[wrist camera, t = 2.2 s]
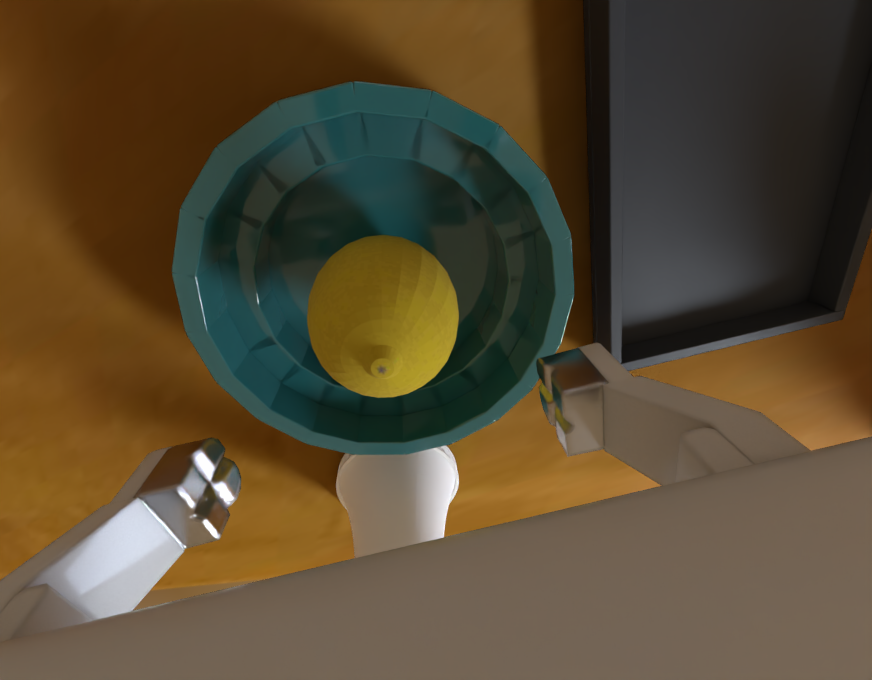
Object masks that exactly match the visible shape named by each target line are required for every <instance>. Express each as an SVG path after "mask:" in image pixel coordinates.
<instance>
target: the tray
mask: <svg viewBox="0 0 872 680" xmlns="http://www.w3.org/2000/svg"><path fill="white" fill-rule="evenodd" d="M583 6H584V39H585V73H586V106H587V139H588V172H589V206H590V239H591V272H592V305H593V338H594V343H600V344H601V345H602V346H603V347H604V348H605V349H606V350H607V351H608V352H609V353H610V354H611V355H612V356H613V357H614V358H615V359H616V360H617V361H618V362H619V363H620V364H621V365H622V366H623V367H624V368H625V369H626V370H627V371H630V370H635V369H639V368H643V367H647V366H651V365H655V364H659V363H664V362H668V361H672V360H676V359H680V358H684V357H689V356H693V355H697V354H701V353H705V352H709V351H714V350H718V349H722V348H726V347H730V346H734V345H738V344H743V343H747V342H751V341H755V340H759V339H763V338H768V337H772V336H776V335H780V334H784V333H788V332H793V331H797V330H801V329H805V328H809V327H813V326H817V325H822V324H826V323H830V322H834V321H838V320H842V319H843V317H844V314H845V311H846V310H845V309H846V307H847V304H848V301H849V298H850V295H851V292H852V288H853V285H854V282H855V279H856V276H857V273H858V270H859V267H860V264H861V260H862V257H863V254H864V251H865V248H866V245H867V242H868V239H869V236H870V232H871V229H872V0H583Z"/></svg>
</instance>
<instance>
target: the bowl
mask: <svg viewBox="0 0 872 680" xmlns="http://www.w3.org/2000/svg"><path fill="white" fill-rule="evenodd" d="M377 235H389V236H397V237H402V238H405V239H407V240H410V241H412V242H415V243H417V244H419V245H420V246H422V247H423V248H424V249H426V250H427V251H428V252H430V253H431V254H432V255H434V256H435V258H436V259H437V260H438V261H439V263H440V264H441V265H442V266H443V268H444V269H445V270H446V271H447V273H448V276H449V278H450V280H451V282H452V285H453V287H454V289H455V292H456V297H457V304H458V311H459V320H458V328H457V335H456V341H455V344H454V346H453V349H452V351H451V353H450V356H449V358H448V360H447V362H446V363H445V365H444V366H443V367H442V369H441V370H440V371H439V372H438V374H437V375H436V376H435V377H434V378H432V379H431V380H430V381H429V382H427V383H426V384H425V385H424V386H422V387H420V388H418V389H416V390H414V391H412V392H410V393H408V394H404V395H400V396H396V397H381V398H377V397H371V396H366V395H361V394H359V393H356V392H354V391H351V390H349V389H347V388H346V387H344V386H343V385H341V384H340V383H338V382H337V381H336V380H334V379H333V378H332V377H331V376H330V375H329V374H328V372H327V371H326V370H325V369H324V368H323V367H322V365H321V364H320V362H319V360H318V358H317V356H316V354H315V352H314V350H313V348H312V345H311V340H310V335H309V330H308V325H307V314H308V301H309V295H310V292H311V289H312V287H313V284H314V282H315V279H316V277H317V274H318V273H319V271H320V270H321V269H322V267H323V266H324V265H325V263H326V262H327V261H328V260H329V258H330V257H331V256H332V255H333V254H335V253H336V252H337V251H339V250H340V249H341V248H343V247H344V246H345V245H347V244H348V243H351V242H353V241H356V240H359V239H361V238H364V237H368V236H377ZM172 277H173V281H174V286H175V290H176V294H177V299H178V303H179V307H180V312H181V316H182V320H183V325H184V329H185V332H186V334H187V336H188V338H189V339H190V341H191V342H192V344H193V346H194V347H195V349H196V351H197V352H198V354H199V355H200V357H201V359H202V360H203V362H204V364H205V365H206V367H207V368H208V370H209V372H210V373H211V375H212V377H213V378H214V380H215V381H217V384H219V385H220V386H221V387H222V388H223V389H224V390H225V391H226V392H227V393H229V394H230V395H231V396H232V397H233V398H234V399H235V400H236V401H238V402H239V403H240V404H241V405H242V406H243V407H244V408H245V409H246V410H248V411H249V412H250V413H251V414H252V415H253V416H254V417H255V418H257V419H258V420H260V421H262V422H264V423H266V424H268V425H270V426H272V427H274V428H276V429H278V430H279V431H281V432H283V433H285V434H287V435H289V436H291V437H293V438H295V439H297V440H299V441H301V442H303V443H306V444H309V445H313V446H317V447H322V448H326V449H330V450H334V451H339V452H343V453H347V454H351V455H355V454H356V455H404V454H405V455H408V454H412V453H416V452H421V451H425V450H429V449H433V448H437V447H441V446H446V445H450V444H452V443H455V442H457V441H459V440H461V439H462V438H464V437H466V436H468V435H470V434H472V433H474V432H476V431H478V430H480V429H482V428H484V427H486V426H488V425H490V424H492V423H494V422H495V421H497V420H499V419H500V418H501V417H502V416H503V415H504V414H505V413H506V412H508V411H509V410H510V409H511V408H512V407H513V406H514V405H515V404H517V403H518V402H519V401H520V400H521V399H522V398H523V397H524V396H525V395H527V394H528V393H529V392H530V391H531V390H532V389H533V387H534V386H535V384H536V383H537V381H538V380H539V378H540V377H539V375H538V374H537V367H536V360H537V359H538V358H542V357H546V356H549V355H553V354H555V353H556V351H557V350H558V348H559V345H561V342H562V339H563V335H564V331H565V328H566V324H567V320H568V317H569V313H570V309H571V306H572V302H573V299H574V275H573V256H572V238H571V233H570V230H569V228H568V225H567V223H566V221H565V218H564V216H563V213H562V211H561V208H560V206H559V204H558V201H557V199H556V196H555V194H554V191H553V189H552V187H551V184H550V182H549V179H548V178H547V176H546V175H545V173H544V172H543V171H542V170H541V169H540V168H539V167H538V166H537V165H536V164H535V163H534V161H533V160H532V159H531V158H530V157H529V156H528V155H527V154H526V153H525V152H524V150H523V149H522V148H521V147H520V146H519V145H518V144H517V143H516V142H515V141H514V140H513V138H512V137H511V136H510V135H509V134H508V133H507V132H506V131H505V130H504V129H503V127H502V126H499V124H498V123H496V122H494V121H492V120H490V119H488V118H486V117H484V116H482V115H480V114H478V113H476V112H474V111H473V110H471V109H469V108H467V107H465V106H463V105H461V104H459V103H457V102H455V101H453V100H451V99H449V98H447V97H445V96H444V95H442V94H440V93H438V92H436V91H433V90H432V91H431V90H430V89H423V88H414V87H406V86H397V85H389V84H380V83H372V82H363V81H353V82H352V81H348V82H345V83H341V84H337V85H333V86H329V87H325V88H322V89H318V90H314V91H310V92H306V93H303V94H299V95H295V96H291V97H287V98H283V99H280V100H278V101H277V102H273V103H272V104H271V105H269V106H268V107H267V108H265V109H264V110H263V111H261V112H260V113H259V114H257V115H256V116H255V117H253V118H252V119H251V120H249V121H248V122H247V123H245V124H244V125H243V126H241V127H240V128H239V129H237V130H236V131H235V132H234V133H232V134H231V135H230V136H228V137H227V138H226V139H224V140H223V141H222V142H220V143H219V144H218V145H217V147H215V148H214V149H213V151H212V153H211V155H210V156H209V158H208V160H207V162H206V163H205V165H204V167H203V168H202V170H201V172H200V174H199V175H198V177H197V179H196V180H195V182H194V184H193V186H192V187H191V189H190V191H189V193H188V194H187V196H186V198H185V199H184V201H183V203H182V205H181V208H180V212H179V219H178V226H177V234H176V241H175V249H174V256H173V263H172Z"/></svg>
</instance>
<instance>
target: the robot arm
mask: <svg viewBox="0 0 872 680" xmlns="http://www.w3.org/2000/svg"><path fill="white" fill-rule="evenodd" d="M536 367H537V374H538V375H539V377H540V379H541V381H542V383H541V385H540V387H539V391H540V398H541V402H542V406H543V410H544V412H545V414H546V417H547V419H548V421H549V423H550V424H551V425H553V426H555V427H556V433H557V438H558V439H559V441H560V443H561V445H562V447H563V449H564V450H565V452H566V454H567V456H573V455H578V454H582V453H587V452H592V451H597V450H601V449H605V451H606V452H608V453H610V454H611V455H613V456H614V457H616V458H618V459H619V460H621V461H623V462H624V463H626V464H627V465H629V466H631V467H632V468H634V469H636V470H637V471H639V472H641V473H642V474H644V475H645V476H647V477H649V478H650V479H652V480H654V481H655V482H657V483H658V484H660V485H662V486H660V487H655V488H651V489H647V490H643V491H638V492H634V493H630V494H626V495H621V496H617V497H613V498H609V499H604V500H600V501H596V502H592V503H588V504H583V505H579V506H575V507H571V508H567V509H562V510H558V511H554V512H550V513H546V514H542V515H537V516H533V517H529V518H525V519H520V520H516V521H512V522H508V523H503V524H499V525H495V526H490V527H486V528H482V529H478V530H473V531H469V532H465V533H460V534H456V535H452V536H448V537H443V538H439V539H435V540H430V541H426V542H422V543H418V544H413V545H409V546H405V547H400V548H396V549H392V550H388V551H383V552H379V553H375V554H371V555H366V556H362V557H358V558H354V559H350V560H345V561H341V562H337V563H333V564H328V565H324V566H320V567H316V568H311V569H307V570H303V571H299V572H295V573H290V574H286V575H282V576H278V577H273V578H269V579H265V580H261V581H257V582H252V583H248V584H244V585H240V586H235V587H231V588H227V589H223V590H218V591H214V592H210V593H206V594H201V595H198V596H193V597H189V598H185V599H180V600H176V601H172V602H167V603H163V604H159V605H155V606H151V607H146V608H142V609H138V610H133V609H134V608H135V607H136V606H137V605H138V603H139V602H140V601H141V600H142V599H143V597H145V595H146V594H147V593H148V592H149V591H150V590H151V589H152V587H153V586H154V585H155V584H156V583H157V582H158V581H159V579H160V578H161V577H162V576H163V575H164V574H165V573H166V571H167V570H168V569H169V568H170V567H171V566H172V565H173V563H174V562H175V561H176V560H177V559H178V558H179V557H180V555H181V554H182V553H183V552H184V549H186V548H190V547H194V546H197V545H201V544H205V543H208V542H212V541H216V540H219V539H220V537H221V535H222V532H223V530H224V528H225V525H226V523H227V521H228V518H229V516H230V514H229V511H228V509H227V508H228V507H229V506H230V505H231V504H232V503H233V502H234V501H235V500H236V499H237V497H238V495H239V492H240V489H241V476H240V473H239V469H238V467H237V466H236V464H235V463H234V462H233V461H231V460H229V459H227V458H225V457H224V453H225V448H224V446H223V445H222V444H221V442H220V441H219V439H215V438H208V439H203V440H199V441H194V442H190V443H185V444H181V445H176V446H173V447H167V448H163V449H159V450H155V451H153V452H151V453H149V454H148V455H147V456H146V457H145V458H144V460H143V461H142V462H141V464H140V465H139V466H138V468H137V469H136V470H135V471H134V473H133V474H132V475H131V477H130V478H129V479H128V480H127V482H126V483H125V484H124V486H123V487H122V488H121V490H120V491H119V492H118V493H117V495H116V496H115V497H114V499H113V500H112V501H111V502H110V504H108V505H104V506H102V507H100V508H99V509H98V510H96V511H95V512H94V513H92V514H91V515H89V516H88V517H87V518H85V519H84V520H83V521H81V522H80V523H78V524H77V525H76V526H74V527H73V528H72V529H70V530H69V531H67V532H66V533H65V534H63V535H62V536H61V537H59V538H58V539H56V540H55V541H54V542H52V543H51V544H50V545H48V546H47V547H45V548H44V549H43V550H41V551H40V552H39V553H37V554H36V555H35V556H33V557H32V558H30V559H29V560H28V561H26V562H25V563H24V564H22V565H21V566H19V567H18V568H17V569H15V570H14V571H13V572H11V573H10V574H8V575H7V576H6V577H4V578H3V579H2V580H0V680H872V437H868V438H863V439H859V440H855V441H851V442H846V443H842V444H838V445H834V446H829V447H825V448H821V449H817V450H812V451H810V450H809V449H808V448H806V447H805V446H804V445H802V444H801V443H800V442H799V441H797V440H796V439H795V438H793V437H792V436H791V435H789V434H788V433H787V432H786V431H784V430H783V429H782V428H780V427H779V426H778V425H776V424H775V423H774V422H772V421H771V420H770V419H769V418H767V417H766V416H765V415H763V414H762V413H761V412H758V411H755V410H752V409H748V408H745V407H742V406H739V405H735V404H732V403H729V402H725V401H722V400H719V399H715V398H712V397H709V396H705V395H702V394H699V393H695V392H692V391H689V390H686V389H682V388H679V387H676V386H672V385H669V384H666V383H662V382H659V381H656V380H652V379H649V378H646V377H642V376H637V377H633V376H632V375H631V374H630V373H629V372H628V371H627V370H626V369H625V368H624V367H623V366H622V365H621V364H620V363H619V362H618V361H617V360H616V359H615V358H614V357H613V356H612V355H611V354H610V353H609V352H608V351H607V350H606V349H605V348H604V347H603V346H602V345H601V344H600V343H593V344H589V345H586V346H582V347H578V348H576V349H572V350H569V351H565V352H561V353H557V354H553V355H549V356H546V357H542V358H538V359H537V360H536ZM132 610H133V611H132Z"/></svg>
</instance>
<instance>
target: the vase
mask: <svg viewBox="0 0 872 680" xmlns="http://www.w3.org/2000/svg"><path fill="white" fill-rule="evenodd" d="M458 484H459V476H458V471H457V466H456V461H455V458H454V456H453V454H452V452H451V451H450V449H449V448H448V447H447V446H441V447H437V448H433V449H429V450H425V451H421V452H416V453H412V454H408V455H405V454H404V455H356V454H355V455H351V454H347V453H345V454H344V456H343V458H342V459H341V461H340V464H339V468H338V475H337V480H336V491H337V495H338V498H339V500H340V502H341V503H342V505H343V506H344V507H345V508H346V509H347V511H348V515H349V519H350V523H351V528H352V534H353V541H354V554H355V558H358V557H362V556H366V555H371V554H375V553H379V552H383V551H388V550H392V549H396V548H400V547H405V546H409V545H413V544H418V543H422V542H426V541H430V540H435V539H439V538H443V537H444V529H445V521H446V515H447V510H448V506H449V504H450V502H451V501H452V500H453V498H454V496H455V494H456V492H457V489H458ZM340 491H341V492H340Z"/></svg>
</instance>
